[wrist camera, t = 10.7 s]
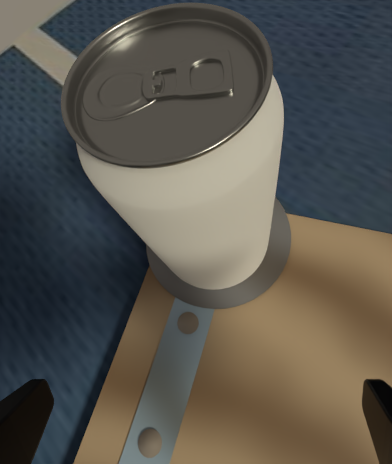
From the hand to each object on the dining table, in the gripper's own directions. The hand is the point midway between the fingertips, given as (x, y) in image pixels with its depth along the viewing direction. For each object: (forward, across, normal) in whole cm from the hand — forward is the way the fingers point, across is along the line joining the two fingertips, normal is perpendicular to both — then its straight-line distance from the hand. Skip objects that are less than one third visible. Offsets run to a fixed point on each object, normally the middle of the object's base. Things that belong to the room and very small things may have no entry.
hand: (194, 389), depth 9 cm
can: (+11, 0, 0) cm, 11 cm away
